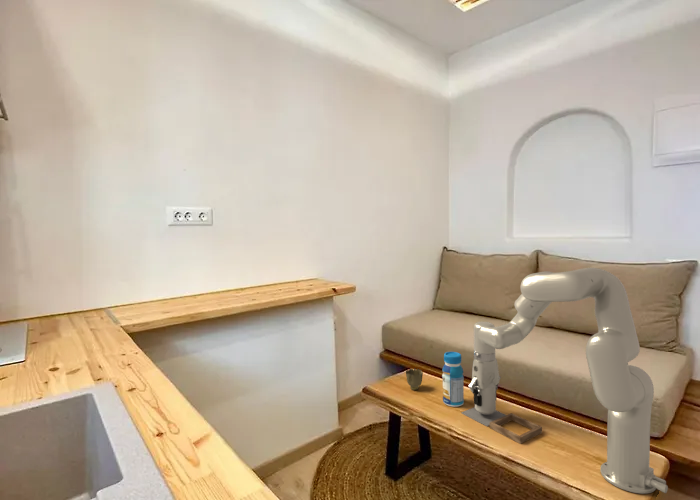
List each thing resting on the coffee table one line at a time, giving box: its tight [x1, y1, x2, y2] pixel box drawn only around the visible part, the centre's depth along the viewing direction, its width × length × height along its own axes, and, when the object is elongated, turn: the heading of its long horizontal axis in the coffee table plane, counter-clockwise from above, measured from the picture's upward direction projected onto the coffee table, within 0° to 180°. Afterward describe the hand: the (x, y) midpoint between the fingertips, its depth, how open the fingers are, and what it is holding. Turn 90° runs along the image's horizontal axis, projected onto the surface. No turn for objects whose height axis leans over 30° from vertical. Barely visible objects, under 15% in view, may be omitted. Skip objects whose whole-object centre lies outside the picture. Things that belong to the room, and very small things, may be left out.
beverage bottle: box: [441, 351, 465, 408], centre depth 155 cm, size 8×8×20 cm
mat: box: [461, 406, 507, 428], centre depth 145 cm, size 12×12×1 cm
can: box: [474, 382, 497, 414], centre depth 144 cm, size 8×8×12 cm
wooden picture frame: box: [489, 413, 543, 444], centre depth 134 cm, size 12×12×2 cm
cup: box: [405, 368, 424, 391], centre depth 170 cm, size 8×7×8 cm
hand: (485, 401), depth 145 cm, fingers closed on can, 7 cm apart
